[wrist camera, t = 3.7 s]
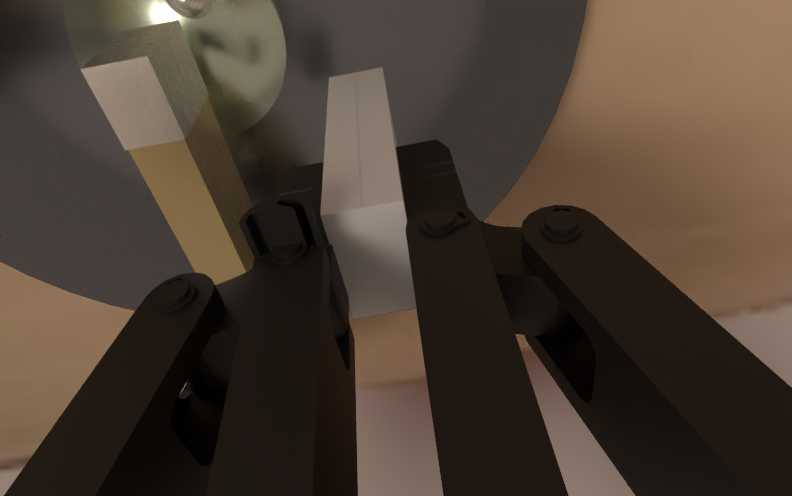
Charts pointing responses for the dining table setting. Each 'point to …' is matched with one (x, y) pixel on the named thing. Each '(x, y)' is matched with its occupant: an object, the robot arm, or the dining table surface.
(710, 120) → the dining table surface
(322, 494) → the robot arm
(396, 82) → the plate
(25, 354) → the dining table surface
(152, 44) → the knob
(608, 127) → the dining table surface
